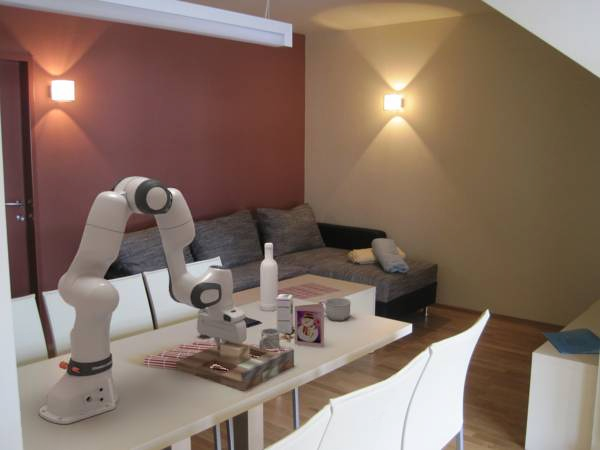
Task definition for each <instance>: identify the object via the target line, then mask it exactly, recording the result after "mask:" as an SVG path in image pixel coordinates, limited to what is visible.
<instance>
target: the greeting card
mask: <svg viewBox="0 0 600 450" xmlns="http://www.w3.org/2000/svg"><path fill="white" fill-rule="evenodd" d="M323 308H324V302H321V304H319V303H313V304H303V305H302V304H301V305H294V345H298V346H306V347H317V348H325V311H324V309H323Z"/></svg>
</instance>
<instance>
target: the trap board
mask: <svg viewBox="0 0 600 450" xmlns="http://www.w3.org/2000/svg"><path fill="white" fill-rule="evenodd" d="M222 343H223V342H221V344H222ZM250 354H252V355H255V356H259V357H258V358H254V357H250V359H248V360H246V361H244V362H242V363H240V364H236V363H233V362H229V361H226V360H222V359H220V350H217V345H216V344H215V345H214V346H211V347H209V348H206V349H203V350H201V351H199V352H196V353H193V354H191V355H189V356H186V357H184V358H180V359H179V360H177V361H176V370H177V371H180V372H184V373H187V374H190V375H193V376H195V377H199V378H201V379H205V380H208V381H212V382H215V383H217V384H219V385H220V384H221V385H224V386H227V387H230V388H233V389H236V390H239V391H242V392H246V391H248V390H250V389H252V388H254V387H256V386H257V385H259V384H261V383H263V382H265V381H267V380H269V379H271V378H273V377H275V376H277V375H279V374H280V373H281V374H282V372H285V371H287V370H288V369H291V368H292V367H294V366H295V349H294V348H289V349H287V350H285V351H283V352H280V353H278V352H276V351H273V352H272V351H268V350H264V349H260V347H256V346H252V345H250ZM213 364H217V365H220V366H222V367H224V368H226V369H228V370H229V371H225V372H223V371H220V370H218V369H215V368H212V369H211V368H210V366H212V365H213Z"/></svg>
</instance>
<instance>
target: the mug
mask: <svg viewBox="0 0 600 450" xmlns="http://www.w3.org/2000/svg"><path fill="white" fill-rule="evenodd" d="M260 334H261V336H260V337H261V338H260V339H259V348H260V349H264V350H266V349H277V348H279V349H280V333H279V330H277V328H264V329H261V333H260Z"/></svg>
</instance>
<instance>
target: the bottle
mask: <svg viewBox="0 0 600 450" xmlns="http://www.w3.org/2000/svg"><path fill="white" fill-rule="evenodd" d="M260 263H261V264H260V266H259V268H260V269H259V272H260V273H259V275H260V277H259V281H260V289H259V290H260V295H259V296H260V303H259V305H260V306H259V307H260V310H261V311H264V312H275V311H277V301H276V298H277V297H278V296H279V284H278V283H279V280H278V279H279V275H278V274H279V273H278V271H279V269H278V267H279V266H278V263H277V261H276V259H274V244H273V243H272V242H266V243H264V259H263V260H262V261H261V262H260Z"/></svg>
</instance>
